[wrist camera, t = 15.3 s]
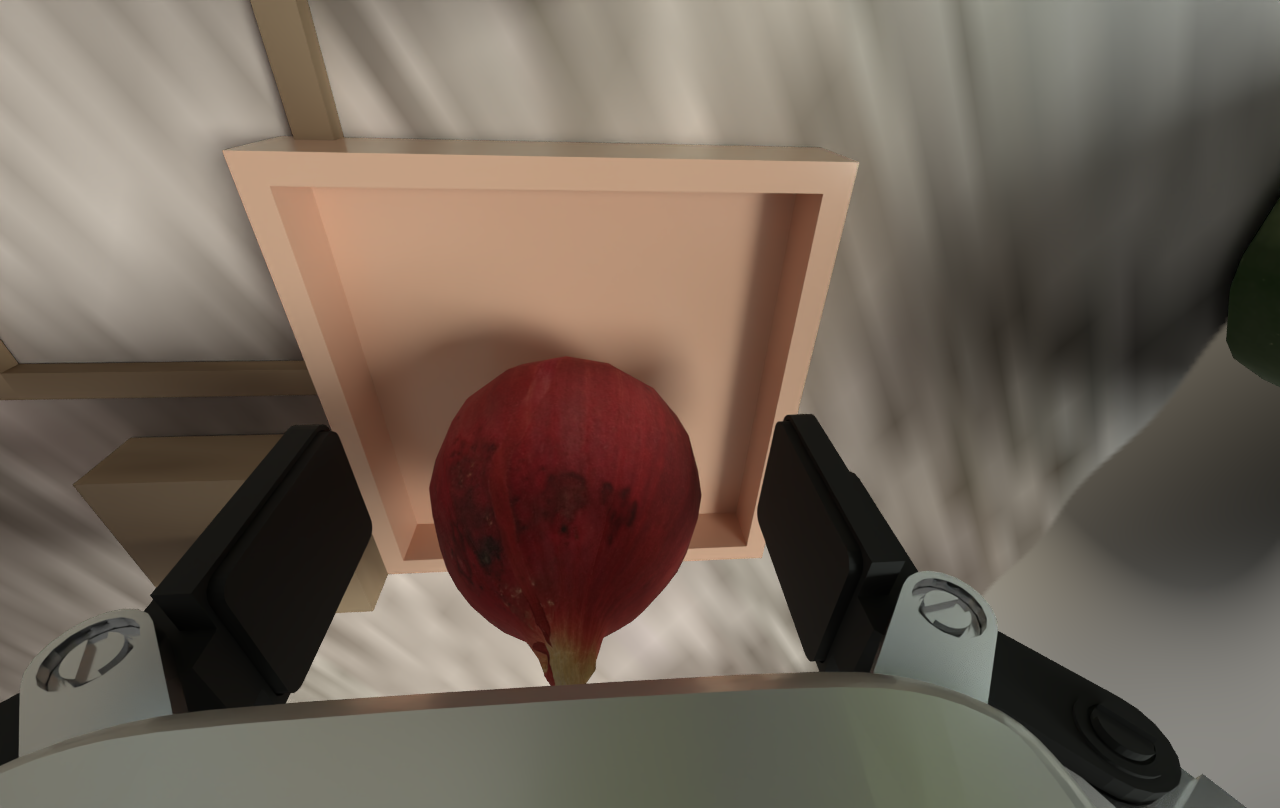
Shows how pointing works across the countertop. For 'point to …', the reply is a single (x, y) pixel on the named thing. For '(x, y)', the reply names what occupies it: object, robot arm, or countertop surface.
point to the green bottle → (1258, 303)
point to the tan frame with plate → (200, 377)
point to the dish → (547, 294)
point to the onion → (564, 505)
